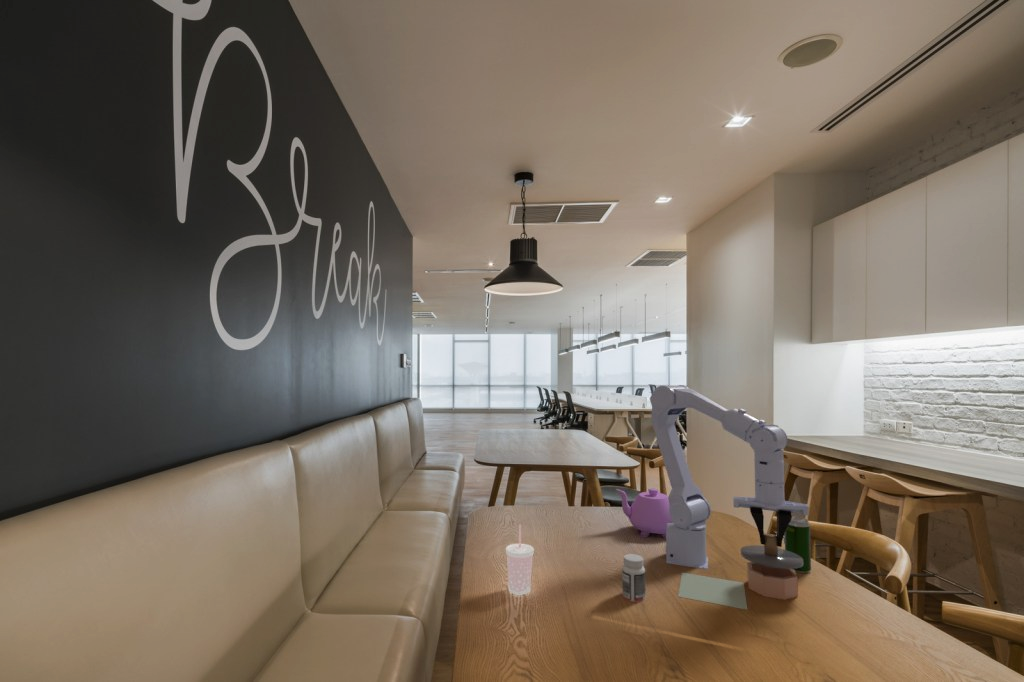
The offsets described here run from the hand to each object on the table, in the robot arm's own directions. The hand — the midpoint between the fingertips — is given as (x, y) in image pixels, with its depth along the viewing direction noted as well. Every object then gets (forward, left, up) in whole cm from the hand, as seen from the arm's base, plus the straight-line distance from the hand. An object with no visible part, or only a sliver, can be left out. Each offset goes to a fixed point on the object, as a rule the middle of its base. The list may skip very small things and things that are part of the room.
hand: (770, 544), depth 104 cm
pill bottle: (-27, -16, -10) cm, 33 cm away
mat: (-12, -6, -10) cm, 17 cm away
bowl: (0, 0, -10) cm, 10 cm away
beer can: (+7, +15, -10) cm, 19 cm away
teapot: (-29, +28, -10) cm, 42 cm away
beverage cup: (-50, -23, -10) cm, 56 cm away
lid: (0, 0, -3) cm, 3 cm away
